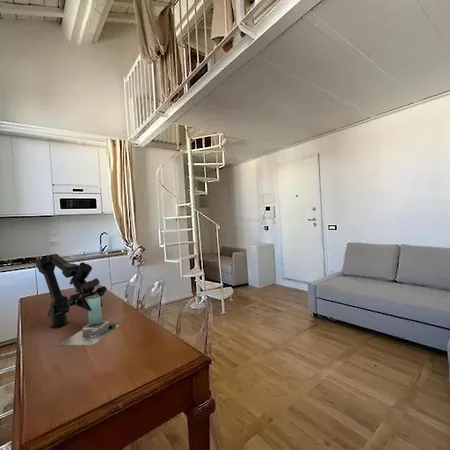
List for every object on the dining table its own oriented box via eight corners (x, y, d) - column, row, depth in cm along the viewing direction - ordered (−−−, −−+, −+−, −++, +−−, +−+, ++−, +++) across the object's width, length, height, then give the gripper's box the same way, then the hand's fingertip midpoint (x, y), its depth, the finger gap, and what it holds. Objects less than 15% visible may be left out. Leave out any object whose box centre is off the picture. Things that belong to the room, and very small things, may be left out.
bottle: (87, 324, 126) (85, 297, 126) (91, 320, 132) (89, 294, 132) (99, 322, 127) (98, 296, 127) (103, 318, 133) (101, 293, 133)
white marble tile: (58, 346, 118) (57, 336, 118) (90, 326, 140) (89, 318, 140) (92, 347, 115) (92, 336, 115) (119, 326, 137) (119, 317, 137)
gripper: (68, 278, 123) (84, 304, 118) (103, 270, 139) (119, 293, 134) (60, 293, 127) (75, 319, 122) (95, 284, 143) (109, 306, 138)
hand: (96, 308), depth 129 cm, fingers closed on bottle, 6 cm apart
